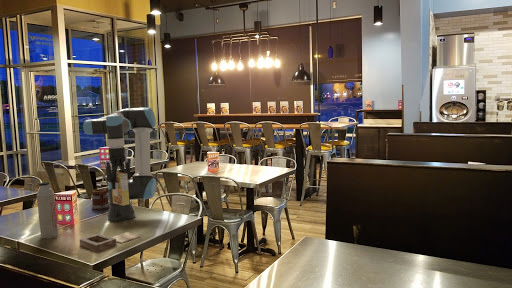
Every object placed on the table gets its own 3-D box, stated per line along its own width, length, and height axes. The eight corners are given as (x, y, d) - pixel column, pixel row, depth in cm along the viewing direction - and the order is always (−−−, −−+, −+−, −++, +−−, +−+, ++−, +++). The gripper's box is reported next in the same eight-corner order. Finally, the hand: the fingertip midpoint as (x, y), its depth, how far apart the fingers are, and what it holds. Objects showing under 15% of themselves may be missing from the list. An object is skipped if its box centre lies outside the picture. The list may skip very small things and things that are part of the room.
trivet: (127, 233, 217) (127, 232, 217) (140, 236, 210) (140, 235, 210) (108, 239, 208) (108, 238, 208) (121, 243, 201) (120, 242, 201)
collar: (99, 239, 209) (98, 233, 208) (116, 245, 199) (115, 238, 199) (80, 245, 201) (79, 239, 201) (97, 251, 192) (96, 245, 191)
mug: (109, 203, 281) (107, 182, 277) (112, 212, 268) (111, 190, 265) (90, 206, 275) (88, 185, 271) (93, 215, 263) (91, 192, 259)
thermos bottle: (61, 233, 221) (56, 181, 218) (51, 238, 213) (45, 184, 210) (48, 233, 223) (42, 181, 220) (37, 238, 215) (31, 184, 212)
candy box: (112, 203, 208) (109, 173, 207) (120, 201, 212) (117, 171, 210) (122, 205, 203) (119, 174, 201) (130, 203, 206) (127, 173, 204)
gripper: (127, 144, 213) (131, 190, 216) (95, 149, 200) (100, 197, 202) (136, 145, 208) (140, 191, 211) (104, 149, 195) (109, 199, 198)
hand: (120, 194), depth 207 cm, fingers closed on candy box, 4 cm apart
